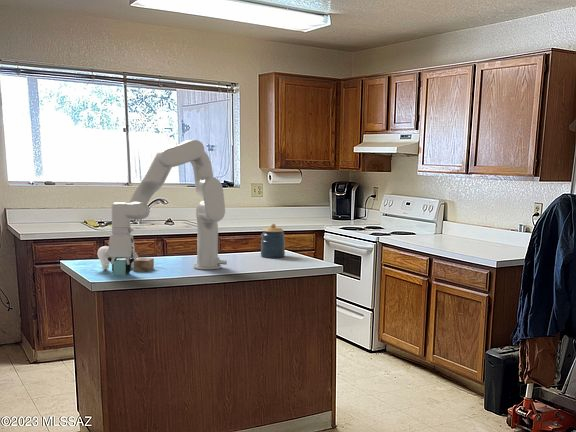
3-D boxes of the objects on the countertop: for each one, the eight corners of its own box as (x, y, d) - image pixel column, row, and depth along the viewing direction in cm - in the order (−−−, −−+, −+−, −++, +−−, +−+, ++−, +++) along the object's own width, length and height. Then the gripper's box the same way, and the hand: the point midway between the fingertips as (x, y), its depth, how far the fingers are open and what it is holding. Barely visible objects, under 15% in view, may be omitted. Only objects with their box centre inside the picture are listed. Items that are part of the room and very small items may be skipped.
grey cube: (132, 267, 243) (132, 259, 242) (132, 269, 239) (132, 260, 239) (123, 267, 242) (123, 259, 242) (122, 269, 238) (122, 260, 238)
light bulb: (94, 270, 234) (94, 245, 233) (109, 268, 239) (108, 244, 238) (101, 272, 230) (101, 247, 229) (116, 270, 234) (115, 246, 233)
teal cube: (129, 273, 230) (129, 259, 229) (124, 275, 225) (124, 261, 224) (118, 272, 230) (117, 259, 229) (113, 275, 225) (113, 261, 224)
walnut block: (153, 269, 241) (153, 258, 241) (148, 271, 234) (148, 260, 234) (138, 268, 242) (138, 257, 241) (133, 271, 235) (133, 260, 234)
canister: (269, 259, 273) (270, 225, 272) (255, 255, 283) (256, 223, 282) (289, 257, 281) (290, 224, 279) (275, 253, 291) (276, 222, 290)
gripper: (143, 230, 229) (143, 272, 230) (105, 229, 230) (105, 270, 232) (137, 232, 221) (137, 275, 223) (98, 231, 223) (98, 274, 224)
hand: (121, 272), depth 227 cm, fingers closed on teal cube, 5 cm apart
